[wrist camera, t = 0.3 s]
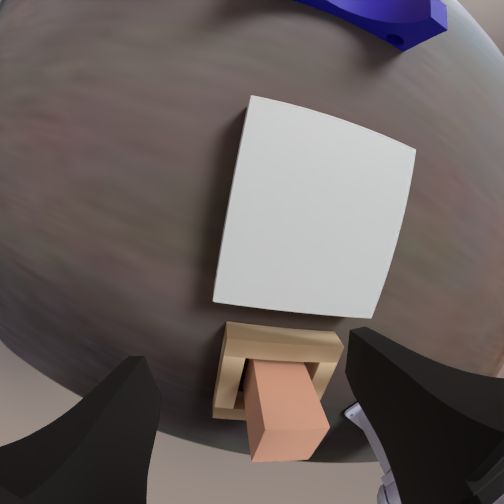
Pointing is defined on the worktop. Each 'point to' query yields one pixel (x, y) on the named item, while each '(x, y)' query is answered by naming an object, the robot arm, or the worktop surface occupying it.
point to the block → (282, 411)
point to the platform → (311, 213)
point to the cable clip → (390, 18)
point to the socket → (270, 348)
